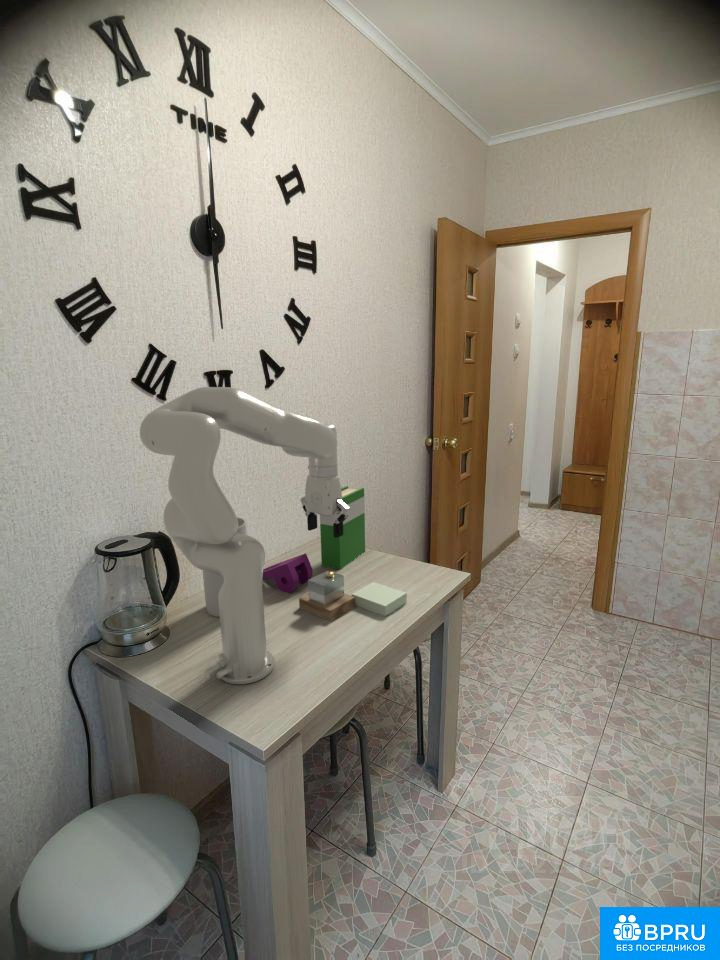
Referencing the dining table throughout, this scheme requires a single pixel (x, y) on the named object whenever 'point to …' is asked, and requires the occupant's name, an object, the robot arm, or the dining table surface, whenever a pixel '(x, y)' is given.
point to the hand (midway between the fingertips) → (325, 532)
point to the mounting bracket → (290, 573)
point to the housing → (326, 588)
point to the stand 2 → (379, 598)
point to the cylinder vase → (217, 581)
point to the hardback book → (344, 532)
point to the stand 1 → (328, 606)
